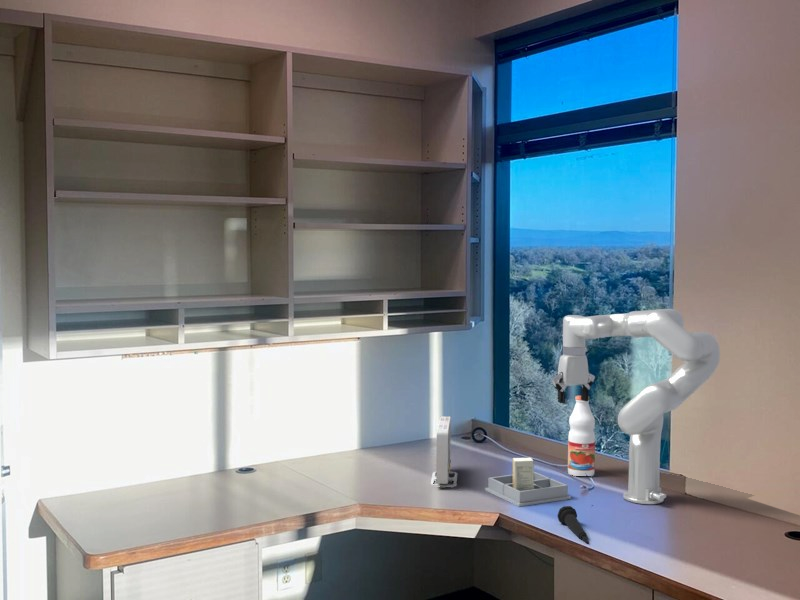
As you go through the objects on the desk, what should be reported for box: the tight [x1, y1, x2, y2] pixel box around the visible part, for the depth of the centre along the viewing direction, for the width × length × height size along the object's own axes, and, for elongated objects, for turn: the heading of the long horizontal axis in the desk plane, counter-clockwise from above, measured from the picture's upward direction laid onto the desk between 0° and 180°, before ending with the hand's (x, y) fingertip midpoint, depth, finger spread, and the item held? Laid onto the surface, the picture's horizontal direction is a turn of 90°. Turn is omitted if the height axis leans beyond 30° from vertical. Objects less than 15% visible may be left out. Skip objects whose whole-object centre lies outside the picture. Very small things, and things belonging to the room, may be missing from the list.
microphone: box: [557, 505, 590, 545], centre depth 235 cm, size 6×6×20 cm
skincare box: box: [512, 457, 535, 491], centre depth 266 cm, size 6×4×12 cm
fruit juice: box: [567, 394, 596, 477], centre depth 297 cm, size 9×9×28 cm
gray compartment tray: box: [484, 471, 572, 507], centre depth 272 cm, size 20×20×4 cm
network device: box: [430, 415, 458, 488], centre depth 289 cm, size 26×9×20 cm, turn 175°
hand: (573, 401), depth 283 cm, fingers open, 9 cm apart
